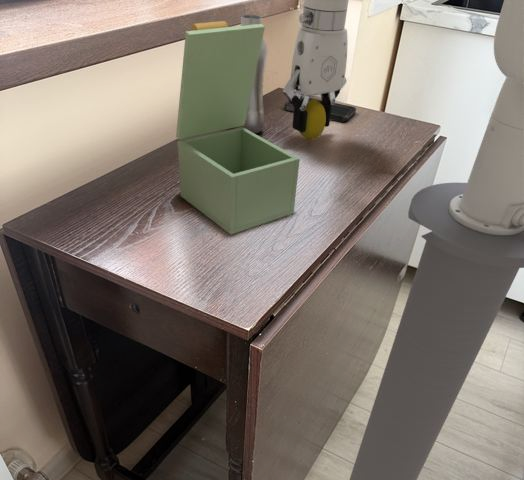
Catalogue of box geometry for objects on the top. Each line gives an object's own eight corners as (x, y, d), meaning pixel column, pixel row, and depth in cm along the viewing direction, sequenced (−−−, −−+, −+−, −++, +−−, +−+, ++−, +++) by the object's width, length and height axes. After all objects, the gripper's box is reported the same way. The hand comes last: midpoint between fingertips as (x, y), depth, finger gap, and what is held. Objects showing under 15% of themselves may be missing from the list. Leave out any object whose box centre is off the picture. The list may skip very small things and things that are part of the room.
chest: (293, 213, 80) (299, 158, 74) (230, 234, 74) (232, 177, 68) (241, 179, 88) (242, 126, 82) (180, 196, 82) (177, 141, 76)
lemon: (320, 136, 104) (326, 94, 99) (324, 147, 100) (330, 104, 95) (293, 135, 104) (297, 93, 98) (297, 146, 100) (301, 103, 94)
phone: (346, 117, 110) (283, 103, 114) (345, 123, 110) (282, 109, 114) (357, 107, 115) (296, 94, 119) (356, 112, 116) (296, 99, 120)
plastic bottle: (255, 140, 100) (261, 22, 87) (225, 133, 102) (226, 16, 89) (269, 130, 105) (276, 16, 91) (239, 123, 107) (242, 11, 93)
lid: (265, 26, 69) (244, 8, 71) (189, 34, 63) (168, 14, 65) (244, 125, 81) (227, 107, 83) (178, 139, 75) (161, 120, 77)
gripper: (300, 28, 81) (289, 142, 94) (373, 20, 90) (354, 125, 102) (271, 19, 86) (264, 128, 98) (343, 12, 94) (329, 114, 106)
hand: (310, 126), depth 100 cm, fingers closed on lemon, 5 cm apart
